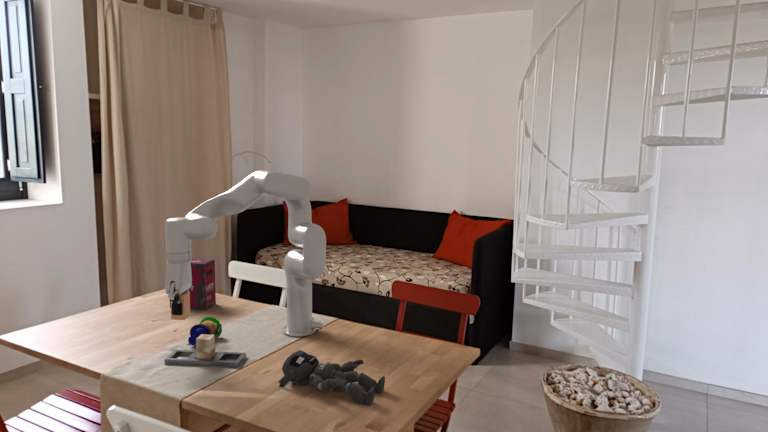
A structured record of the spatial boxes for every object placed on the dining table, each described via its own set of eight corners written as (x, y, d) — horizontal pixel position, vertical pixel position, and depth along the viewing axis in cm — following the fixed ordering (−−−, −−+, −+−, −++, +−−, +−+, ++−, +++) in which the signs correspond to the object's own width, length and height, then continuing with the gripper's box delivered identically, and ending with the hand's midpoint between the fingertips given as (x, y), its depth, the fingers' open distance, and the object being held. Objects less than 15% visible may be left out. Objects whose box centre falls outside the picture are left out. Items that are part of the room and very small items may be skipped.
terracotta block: (190, 315, 179) (189, 291, 178) (184, 320, 175) (183, 295, 174) (177, 315, 179) (176, 291, 178) (171, 319, 175) (170, 295, 174)
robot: (367, 390, 149) (274, 358, 160) (362, 424, 151) (271, 391, 162) (390, 366, 164) (303, 339, 175) (385, 397, 166) (300, 369, 177)
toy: (215, 334, 187) (233, 319, 202) (195, 318, 187) (215, 304, 202) (196, 359, 190) (215, 342, 204) (177, 343, 190) (197, 327, 204)
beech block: (215, 358, 181) (214, 334, 180) (210, 363, 176) (209, 339, 175) (202, 357, 181) (201, 334, 180) (196, 362, 177) (196, 339, 175)
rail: (246, 360, 182) (246, 352, 182) (238, 370, 174) (238, 362, 174) (175, 357, 184) (175, 349, 183) (164, 367, 176) (164, 359, 175)
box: (169, 307, 235) (168, 262, 232) (180, 301, 244) (179, 257, 241) (206, 310, 232) (204, 264, 229) (215, 304, 241) (214, 259, 238)
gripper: (178, 250, 183) (180, 303, 185) (154, 262, 166) (157, 320, 169) (200, 251, 182) (202, 304, 185) (179, 263, 166) (180, 321, 168)
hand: (180, 311), depth 177 cm, fingers closed on terracotta block, 4 cm apart
